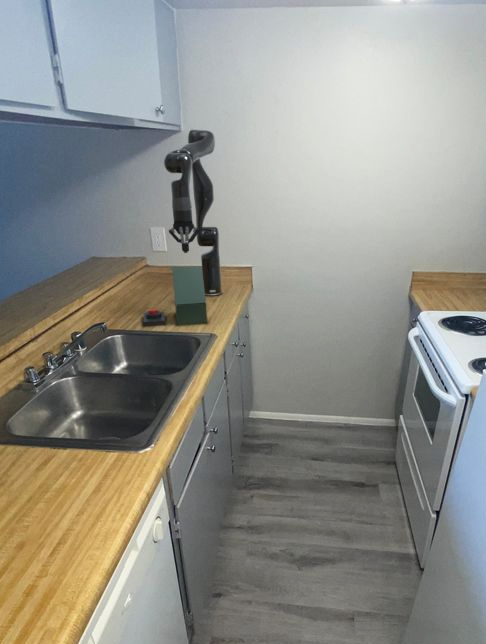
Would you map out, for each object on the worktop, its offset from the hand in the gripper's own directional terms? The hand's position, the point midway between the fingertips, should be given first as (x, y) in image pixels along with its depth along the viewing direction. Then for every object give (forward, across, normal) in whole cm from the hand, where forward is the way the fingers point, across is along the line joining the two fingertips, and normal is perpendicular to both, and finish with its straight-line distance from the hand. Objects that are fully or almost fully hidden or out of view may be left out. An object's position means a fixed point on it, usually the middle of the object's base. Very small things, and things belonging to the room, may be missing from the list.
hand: (185, 252), depth 198 cm
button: (+25, +16, +1) cm, 30 cm away
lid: (+13, 0, +4) cm, 14 cm away
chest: (+29, 0, +1) cm, 29 cm away
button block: (+29, +16, +1) cm, 33 cm away
